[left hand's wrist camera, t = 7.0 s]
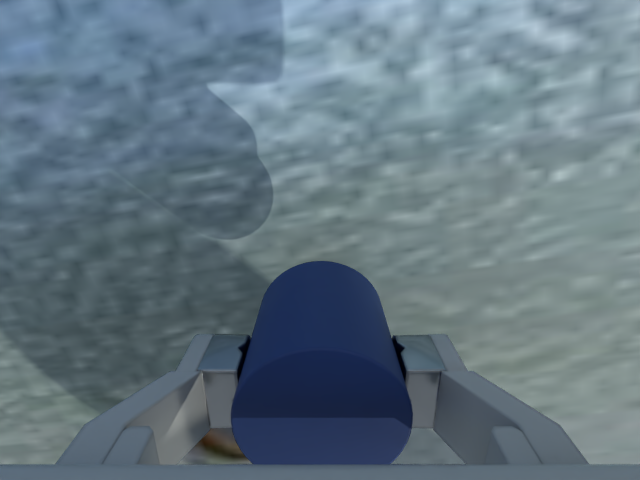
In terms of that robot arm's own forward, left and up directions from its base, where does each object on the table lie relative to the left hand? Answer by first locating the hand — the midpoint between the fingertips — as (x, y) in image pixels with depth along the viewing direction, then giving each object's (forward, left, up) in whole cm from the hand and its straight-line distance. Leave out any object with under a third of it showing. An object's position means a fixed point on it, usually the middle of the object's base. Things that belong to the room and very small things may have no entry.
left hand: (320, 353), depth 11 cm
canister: (0, 0, -2) cm, 2 cm away
